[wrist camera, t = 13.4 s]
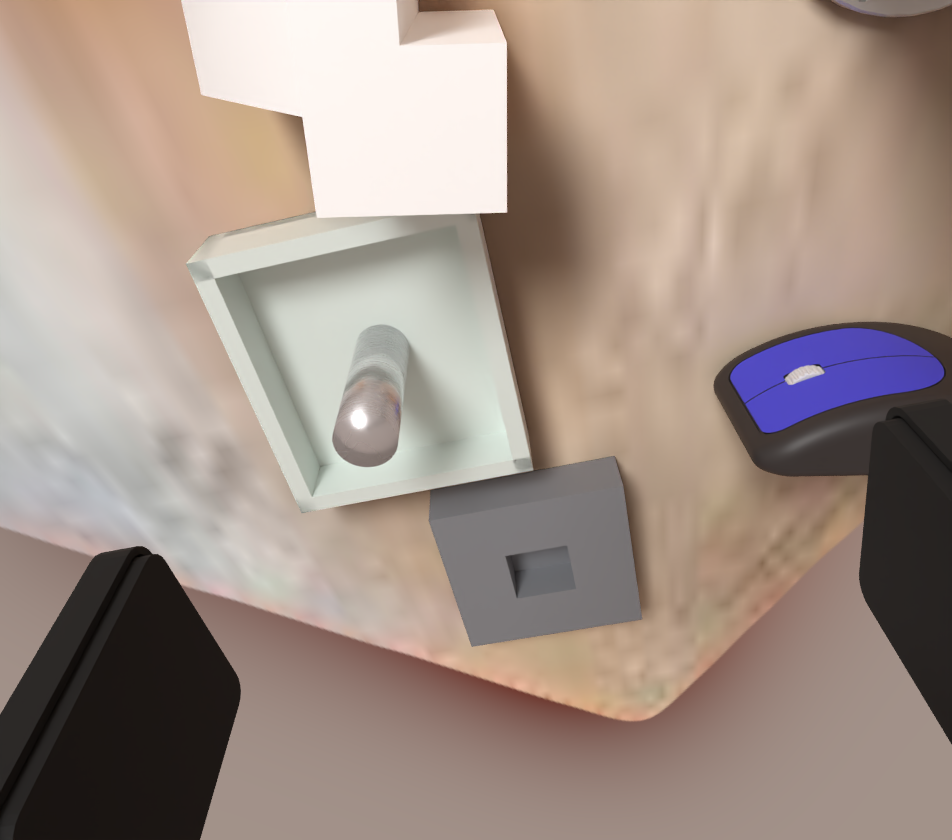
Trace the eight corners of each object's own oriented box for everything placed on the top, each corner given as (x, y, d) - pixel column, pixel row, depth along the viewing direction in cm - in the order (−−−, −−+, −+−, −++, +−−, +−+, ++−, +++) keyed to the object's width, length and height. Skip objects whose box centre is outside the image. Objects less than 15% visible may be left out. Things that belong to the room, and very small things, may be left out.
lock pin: (401, 319, 40) (387, 408, 33) (415, 366, 42) (405, 460, 34) (348, 330, 41) (323, 420, 33) (364, 376, 42) (344, 472, 35)
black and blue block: (1004, 313, 42) (1131, 402, 34) (975, 383, 44) (1086, 481, 36) (718, 317, 41) (778, 407, 34) (704, 387, 44) (757, 486, 36)
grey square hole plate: (614, 456, 47) (623, 485, 44) (633, 587, 53) (642, 619, 51) (430, 490, 48) (428, 520, 45) (471, 613, 54) (471, 646, 52)
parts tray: (471, 175, 37) (472, 199, 34) (528, 432, 45) (533, 470, 42) (208, 236, 38) (186, 263, 35) (312, 473, 47) (301, 513, 44)
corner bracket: (494, 134, 36) (507, 212, 26) (261, 141, 36) (183, 221, 26) (491, -141, 30) (506, -177, 20) (213, -133, 30) (88, -166, 20)
